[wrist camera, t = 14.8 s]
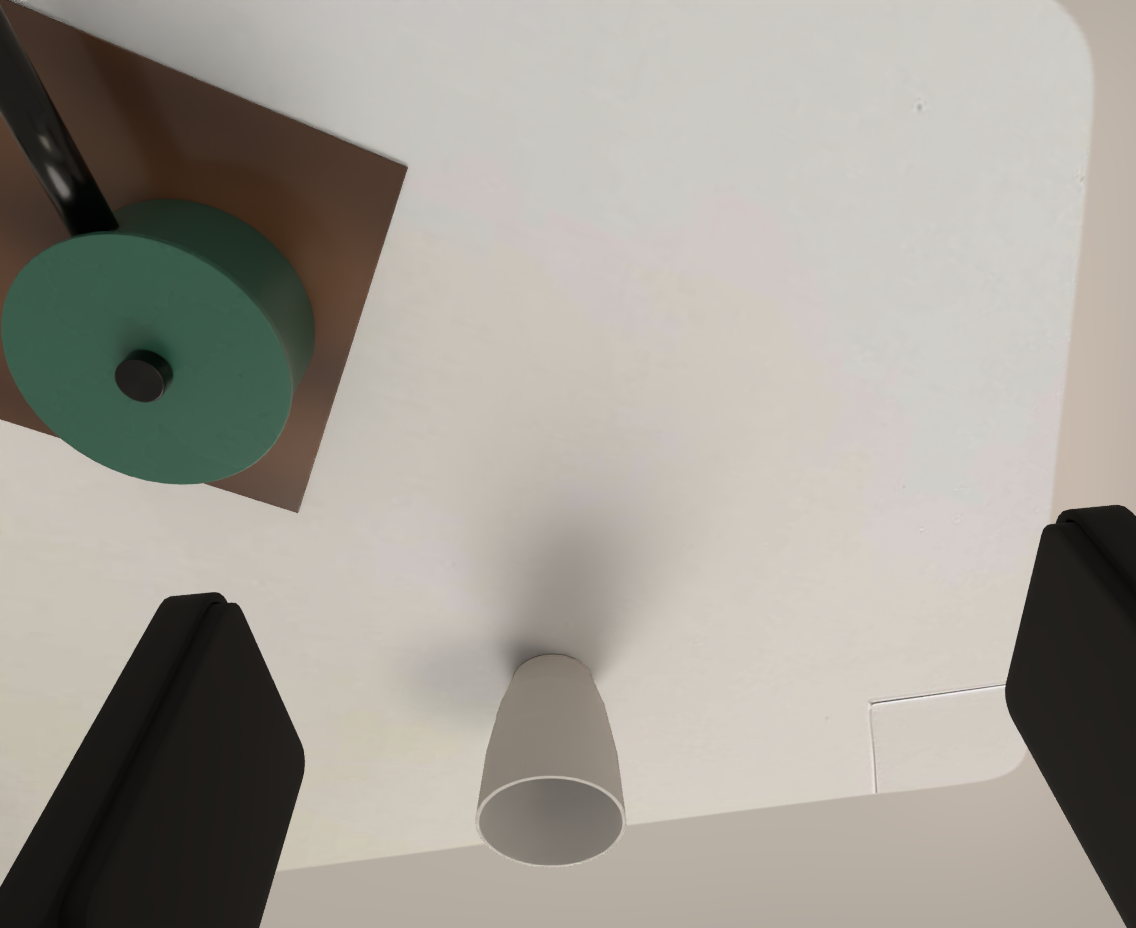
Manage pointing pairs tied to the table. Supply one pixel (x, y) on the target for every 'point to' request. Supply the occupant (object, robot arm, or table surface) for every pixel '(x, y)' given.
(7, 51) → the saucepan
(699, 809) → the table surface
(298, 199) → the trivet
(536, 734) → the cup
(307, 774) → the table surface
